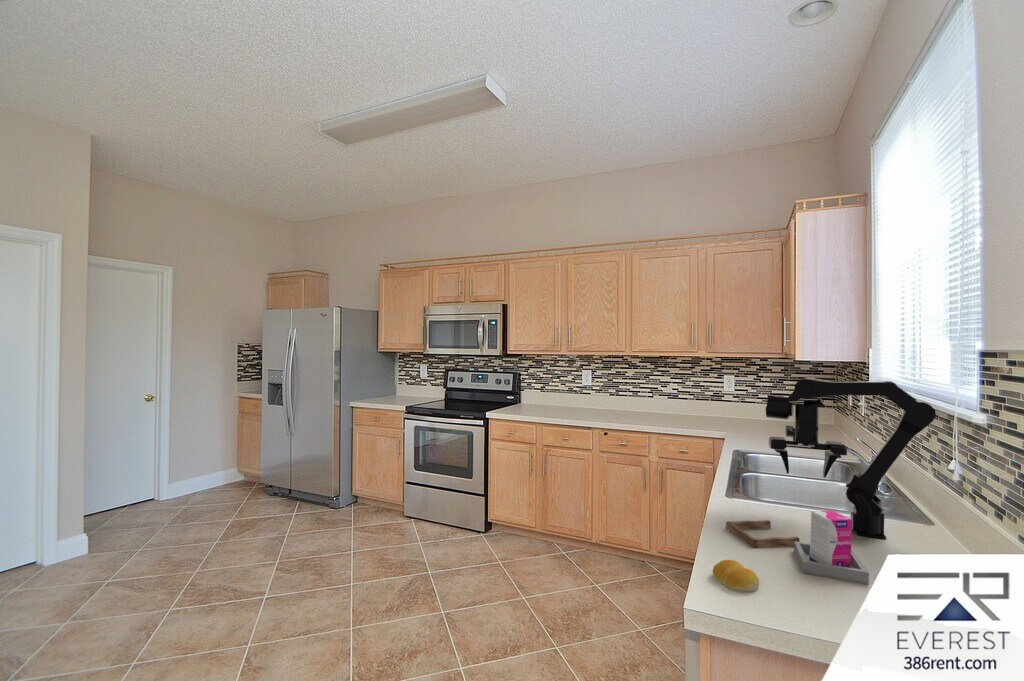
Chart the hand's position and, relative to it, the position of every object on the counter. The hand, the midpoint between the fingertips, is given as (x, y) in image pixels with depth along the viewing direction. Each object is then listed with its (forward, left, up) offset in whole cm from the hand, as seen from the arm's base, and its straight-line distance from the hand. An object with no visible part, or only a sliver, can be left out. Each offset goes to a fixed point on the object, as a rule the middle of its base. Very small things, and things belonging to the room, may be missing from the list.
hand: (805, 475), depth 137 cm
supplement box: (0, +31, -13) cm, 34 cm away
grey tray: (+1, +31, -13) cm, 34 cm away
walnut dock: (+13, +19, -13) cm, 26 cm away
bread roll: (+21, +48, -14) cm, 54 cm away
